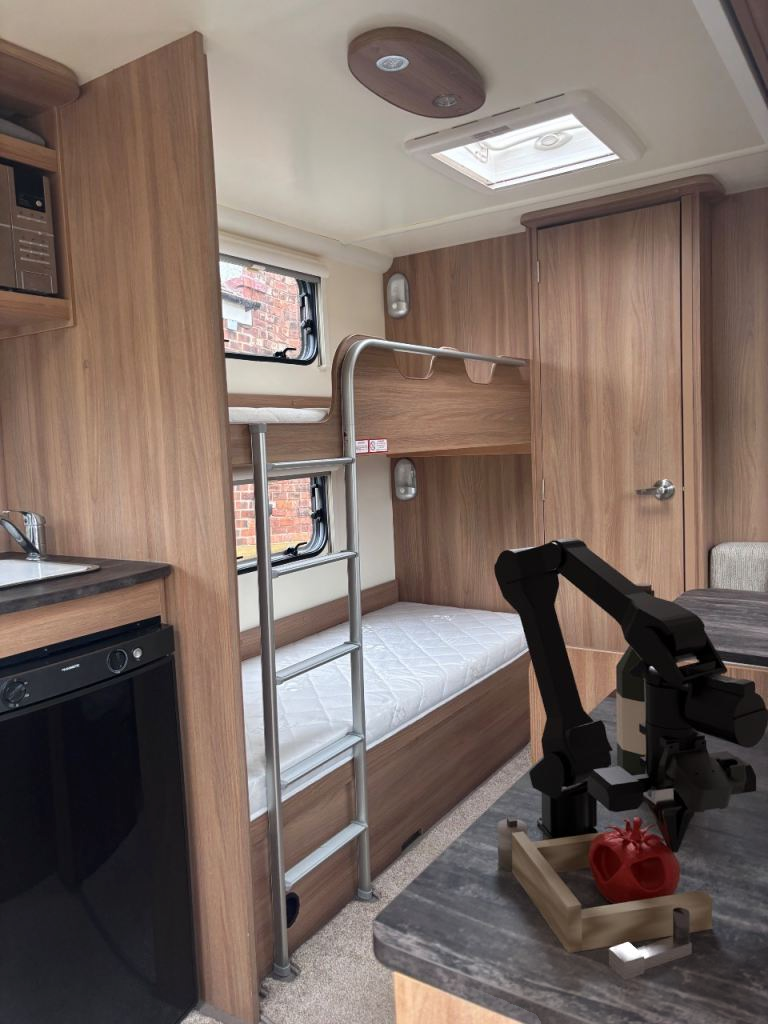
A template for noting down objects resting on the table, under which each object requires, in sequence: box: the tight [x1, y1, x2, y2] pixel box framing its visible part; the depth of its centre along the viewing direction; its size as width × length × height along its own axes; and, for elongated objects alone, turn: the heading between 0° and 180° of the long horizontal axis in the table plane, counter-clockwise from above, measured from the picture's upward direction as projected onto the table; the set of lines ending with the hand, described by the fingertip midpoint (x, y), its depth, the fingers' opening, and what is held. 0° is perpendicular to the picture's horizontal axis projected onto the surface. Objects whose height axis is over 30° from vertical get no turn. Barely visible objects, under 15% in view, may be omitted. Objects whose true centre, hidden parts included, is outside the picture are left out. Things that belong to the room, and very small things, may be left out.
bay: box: [497, 816, 713, 954], centre depth 91 cm, size 18×20×6 cm
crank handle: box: [608, 907, 693, 981], centre depth 79 cm, size 9×2×4 cm, turn 111°
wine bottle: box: [615, 582, 655, 776], centre depth 123 cm, size 8×8×30 cm
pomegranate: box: [588, 816, 681, 904], centre depth 90 cm, size 10×10×9 cm
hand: (672, 851), depth 91 cm, fingers closed
